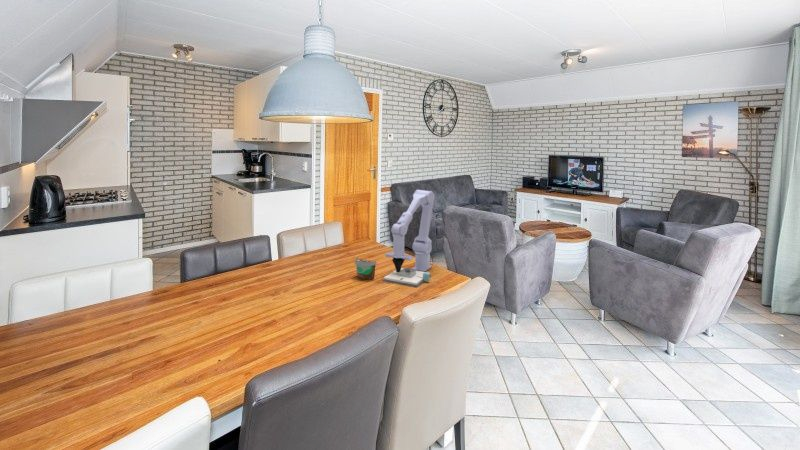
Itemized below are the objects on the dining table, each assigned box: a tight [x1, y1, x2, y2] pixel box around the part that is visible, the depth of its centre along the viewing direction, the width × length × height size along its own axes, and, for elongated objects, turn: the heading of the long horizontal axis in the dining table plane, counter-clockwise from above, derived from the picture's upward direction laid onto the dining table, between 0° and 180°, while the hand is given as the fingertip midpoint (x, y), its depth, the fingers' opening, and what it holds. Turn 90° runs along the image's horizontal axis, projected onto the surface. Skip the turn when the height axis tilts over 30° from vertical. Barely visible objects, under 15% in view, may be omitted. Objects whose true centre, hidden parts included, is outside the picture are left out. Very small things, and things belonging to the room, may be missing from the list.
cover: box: [399, 267, 417, 278], centre depth 211 cm, size 6×6×4 cm
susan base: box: [382, 274, 432, 288], centre depth 212 cm, size 19×19×1 cm
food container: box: [354, 257, 377, 281], centre depth 210 cm, size 12×6×10 cm, turn 62°
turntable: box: [383, 267, 431, 285], centre depth 211 cm, size 18×21×4 cm
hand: (398, 271), depth 214 cm, fingers closed
